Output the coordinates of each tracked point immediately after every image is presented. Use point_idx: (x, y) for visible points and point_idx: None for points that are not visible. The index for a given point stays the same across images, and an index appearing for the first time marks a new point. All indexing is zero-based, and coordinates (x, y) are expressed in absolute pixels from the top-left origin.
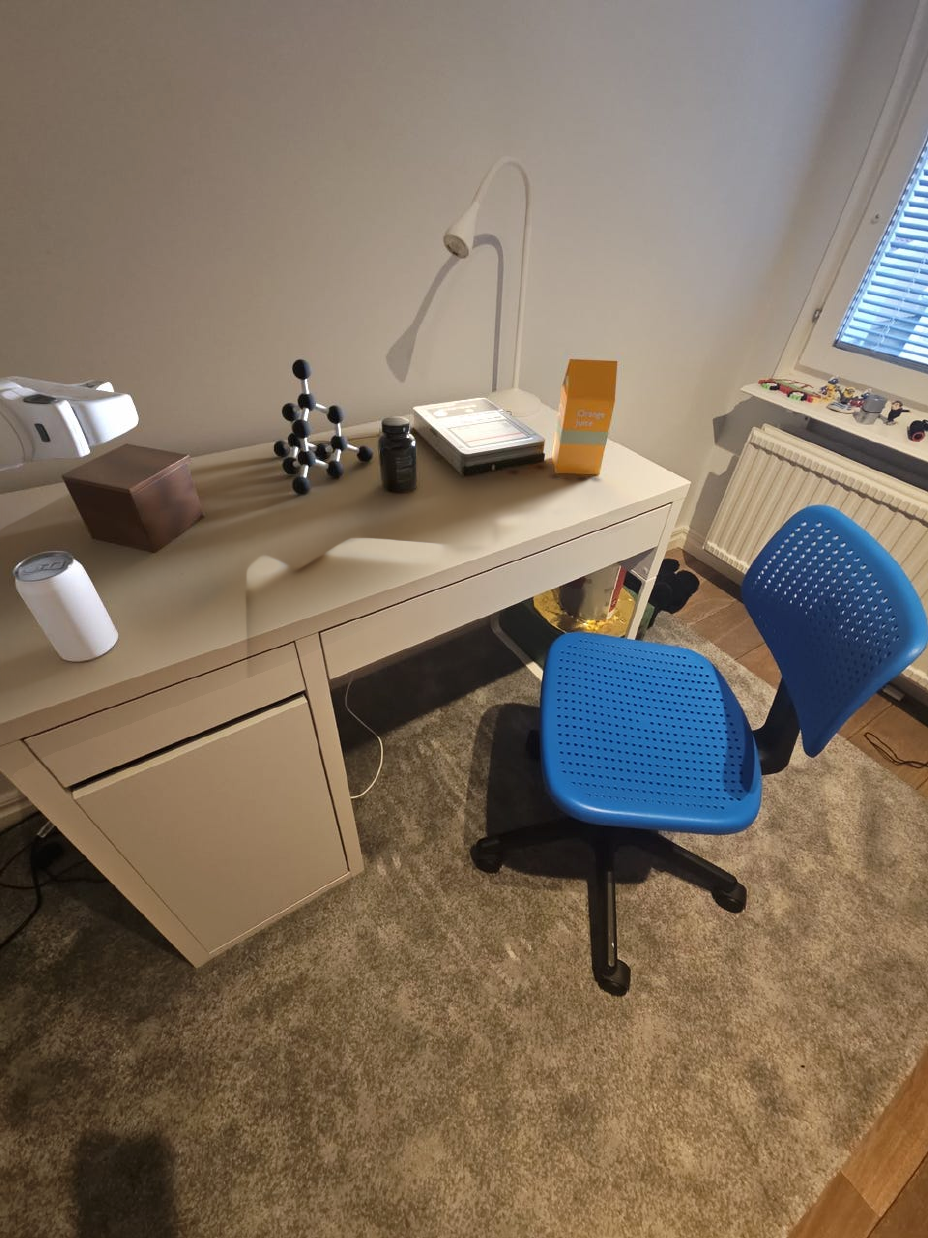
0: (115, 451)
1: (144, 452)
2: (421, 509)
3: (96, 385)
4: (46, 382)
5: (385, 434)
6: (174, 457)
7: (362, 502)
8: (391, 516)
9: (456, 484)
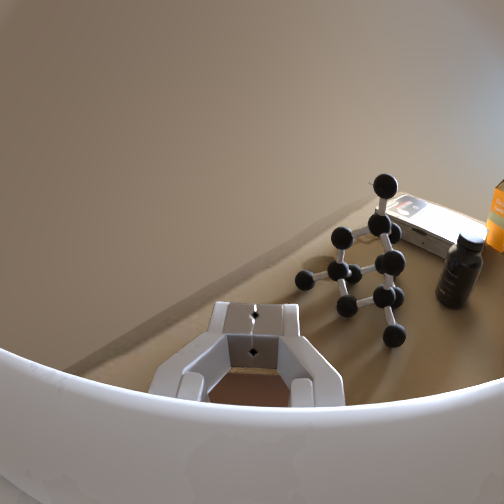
0: None
1: (248, 392)
2: (494, 321)
3: (285, 338)
4: (110, 409)
5: (471, 253)
6: None
7: (453, 333)
8: (489, 340)
9: (478, 282)
